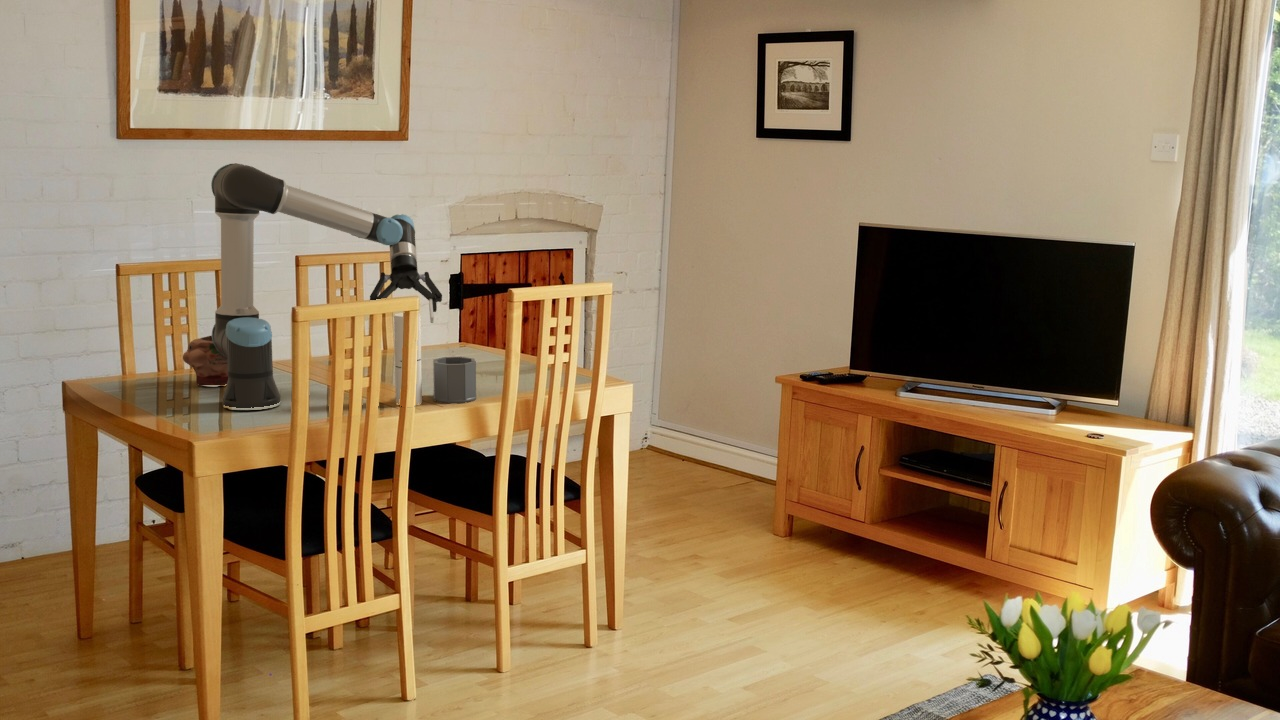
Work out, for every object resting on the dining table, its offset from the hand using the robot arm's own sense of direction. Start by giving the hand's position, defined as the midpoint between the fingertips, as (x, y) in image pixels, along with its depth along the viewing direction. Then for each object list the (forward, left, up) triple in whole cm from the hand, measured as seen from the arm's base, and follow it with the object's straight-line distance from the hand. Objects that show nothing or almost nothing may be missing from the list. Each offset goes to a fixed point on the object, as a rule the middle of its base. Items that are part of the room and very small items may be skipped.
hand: (407, 320), depth 347 cm
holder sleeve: (+12, -6, -22) cm, 26 cm away
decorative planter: (-54, +24, -22) cm, 63 cm away
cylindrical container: (-1, -10, -22) cm, 24 cm away
